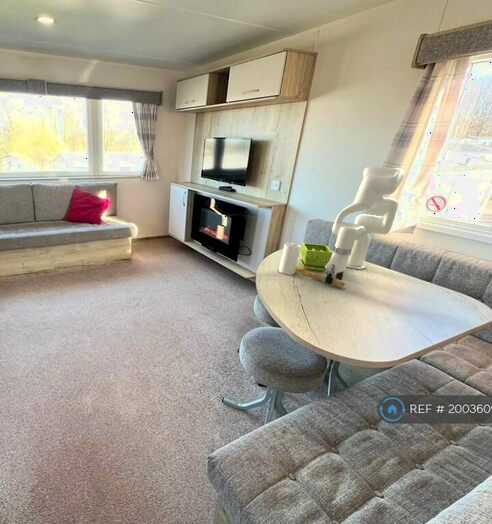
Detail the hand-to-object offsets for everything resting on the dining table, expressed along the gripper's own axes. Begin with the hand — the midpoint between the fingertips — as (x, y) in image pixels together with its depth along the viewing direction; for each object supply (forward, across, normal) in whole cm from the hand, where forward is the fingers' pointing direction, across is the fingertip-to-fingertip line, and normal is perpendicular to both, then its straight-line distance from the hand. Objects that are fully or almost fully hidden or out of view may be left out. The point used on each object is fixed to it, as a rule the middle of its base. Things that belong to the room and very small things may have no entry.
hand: (333, 281), depth 162 cm
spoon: (+2, 0, -2) cm, 3 cm away
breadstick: (+2, 0, -17) cm, 17 cm away
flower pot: (+2, -13, -19) cm, 23 cm away
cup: (+2, +7, -22) cm, 23 cm away
